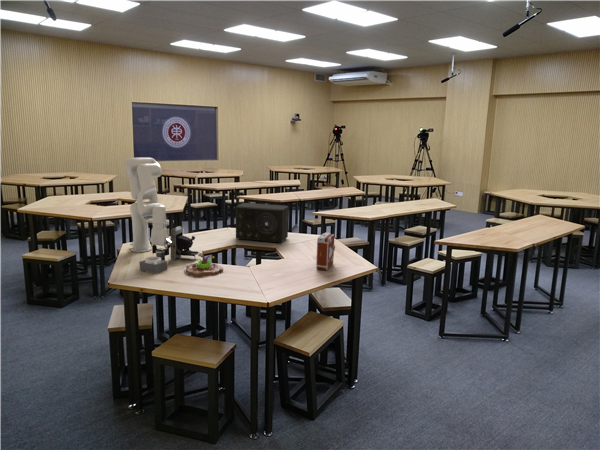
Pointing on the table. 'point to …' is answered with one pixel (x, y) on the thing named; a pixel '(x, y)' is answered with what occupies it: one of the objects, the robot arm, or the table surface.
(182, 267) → the table surface
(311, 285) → the table surface
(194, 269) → the plant
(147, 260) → the grey hollow block
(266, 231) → the vintage radio
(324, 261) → the cine camera
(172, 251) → the vintage camera
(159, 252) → the lens
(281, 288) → the table surface
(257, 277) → the table surface
